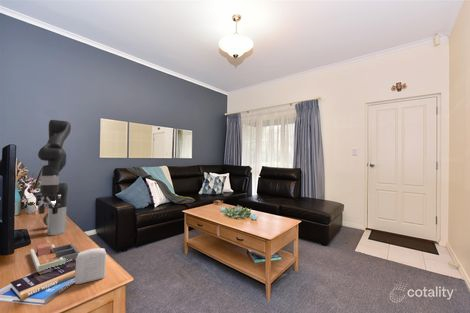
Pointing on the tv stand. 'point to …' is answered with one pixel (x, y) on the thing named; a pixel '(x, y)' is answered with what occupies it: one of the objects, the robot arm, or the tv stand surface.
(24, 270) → the tv stand surface
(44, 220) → the alarm clock
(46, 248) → the red block
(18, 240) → the tv stand surface
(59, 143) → the robot arm
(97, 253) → the photo printer
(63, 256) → the box
